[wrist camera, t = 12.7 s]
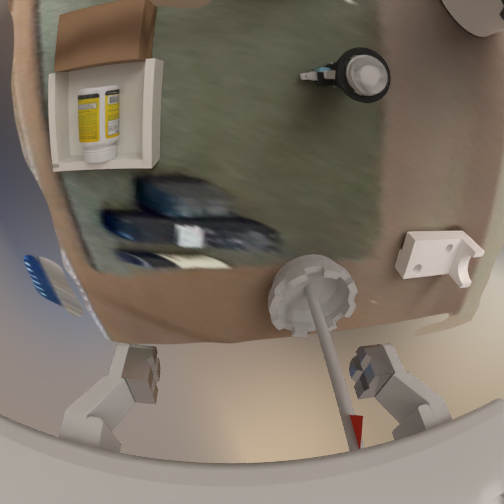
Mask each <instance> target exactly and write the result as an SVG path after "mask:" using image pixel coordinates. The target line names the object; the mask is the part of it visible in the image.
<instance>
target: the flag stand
mask: <svg viewBox="0 0 504 504" xmlns="http://www.w3.org/2000/svg"><path fill="white" fill-rule="evenodd" d="M357 293H358V290H357V287H356V285H355V283H354V281H353V279H352V277H351V276H350V274H349V272H348V271H347V270H346V269H345V268H344V267H342V266H340V265H339V264H337V263H335V262H334V261H333V260H331V259H330V258H328V257H325V256H322V255H315V254H312V255H304V256H300V257H297V258H295V259H292V260H291V261H289V262H287V263H286V264H285V265H284V266H283V267H281V268H280V270H279V271H278V272H277V273H276V275H275V277H274V280H273V284H272V287H271V289H270V291H269V295H268V308H269V312H270V316H271V321H272V323H273V325H274V326H275V327H276V328H277V329H278V330H279V331H280V330H281V329H283V328H284V329H287V330H290V331H291V335H292V336H293V337H300V338H301V337H303V338H304V337H305V338H307V335H308V332H311V331H317V334H318V337H319V341H320V344H321V347H322V351H323V354H324V358H325V361H326V365H327V368H328V371H329V375H330V379H331V382H332V385H333V389H334V392H335V396H336V400H337V404H338V407H339V411H340V415H341V419H342V422H343V426H344V430H345V434H346V438H347V442H348V446H349V450H350V451H353V450H358V449H362V448H365V447H364V444H363V440H362V436H361V435H362V421H363V420H362V419H363V416H357V415H355V412H354V409H353V406H352V402H351V399H350V396H349V392H348V389H347V386H346V383H345V379H344V376H343V373H342V370H341V367H340V364H339V361H338V357H337V354H336V351H335V348H334V345H333V342H332V339H331V336H330V333H329V332H330V331H332V330H334V329H336V328H337V326H336V323H335V322H337V321H338V320H339V319H341V318H342V317H343V316H345V317H348V318H349V317H350V316H351V315H352V313H353V312H354V310H355V308H356V304H355V302H354V299H355V295H356V294H357Z"/></svg>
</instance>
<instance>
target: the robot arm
mask: <svg viewBox="0 0 504 504" xmlns="http://www.w3.org/2000/svg"><path fill="white" fill-rule="evenodd" d="M442 2H443V4H444V5H445V7H446V8H447V10H448V11H449V13H450V14H451V15H452V16H453V18H454V19H455V20H456V21H457V22H458V23H459V24H460V25H461V26H462V27H463V28H464V29H466V30H467V31H468V32H470V33H472V34H474V35H476V36H479V37H487V36H489V35H492V34H494V33H498V32H503V31H504V0H442ZM356 353H357V355H356V356H355V357H354V358H353V359H352V360H351V362H350V367H349V371H350V376H351V378H352V379H353V380H354V381H355V382H356V383H355V386H354V388H355V391H356V394H357V397H358V399H364V398H371V397H375V398H376V400H377V401H378V402H379V403H380V404H381V405H382V406H383V407H384V408H385V409H386V410H387V411H388V412H389V413H390V414H391V415H392V416H393V417H394V418H395V419H396V420H397V421H398V422H399V423H400V425H398V426H397V427H396V428H395V429H394V430H393V432H392V433H393V437H394V440H393V441H390V442H386V443H383V444H379V445H375V446H371V447H367V448H362V449H358V450H353V451H349V452H344V453H338V454H333V455H327V456H321V457H314V458H307V459H299V460H289V461H277V462H263V463H198V462H182V461H172V460H162V459H154V458H147V457H140V456H134V455H128V454H123V453H120V447H121V443H120V442H119V441H118V439H117V438H116V437H115V436H114V435H113V433H112V430H113V429H114V428H115V427H116V426H117V425H118V423H119V422H120V421H121V420H122V419H123V418H124V416H125V415H126V414H127V413H128V412H129V410H130V409H131V408H132V407H133V406H134V405H135V402H139V403H149V404H156V398H157V392H158V389H157V386H156V383H157V382H158V381H159V378H160V361H159V358H157V348H156V347H154V346H145V345H137V344H130V343H122V342H119V343H118V344H117V345H116V349H115V352H114V356H113V359H112V362H111V366H110V369H109V373H108V376H103V377H102V378H101V379H100V380H99V381H98V382H96V383H95V384H94V385H93V386H92V387H91V388H90V389H89V390H87V391H86V392H85V393H84V394H83V395H82V396H81V397H80V398H78V399H77V400H76V401H75V402H74V403H73V404H71V405H70V406H69V407H68V408H67V409H66V412H65V416H64V419H63V423H62V427H61V431H60V435H59V437H56V436H53V435H50V434H47V433H44V432H41V431H38V430H36V429H33V428H31V427H28V426H26V425H23V424H21V423H18V422H15V421H13V420H11V419H9V418H7V417H4V416H2V415H0V504H504V400H503V399H496V400H493V401H491V402H490V403H488V404H486V405H484V406H482V407H480V408H477V409H476V410H473V411H471V412H469V413H467V414H465V415H462V416H460V417H458V418H455V419H453V420H452V418H451V416H450V413H449V411H448V409H447V407H446V404H445V402H444V400H443V398H442V397H441V396H439V395H438V394H437V393H435V392H434V391H433V390H431V389H430V388H429V387H428V386H426V385H425V384H424V383H422V382H421V381H420V380H419V379H417V378H416V377H415V376H413V375H412V374H411V373H409V372H408V371H407V372H405V370H404V368H403V366H402V364H401V361H400V359H399V357H398V355H397V353H396V351H395V349H394V347H393V345H392V344H390V343H389V344H381V345H380V344H377V345H369V346H361V347H359V348H358V349H357V351H356Z"/></svg>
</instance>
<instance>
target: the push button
mask: <svg viewBox="0 0 504 504" xmlns="http://www.w3.org/2000/svg"><path fill="white" fill-rule="evenodd" d="M356 54H357V56H356V57H354V58H351V59H349V58H350V57H352V56H353V55H356ZM327 64H331V68H325V67H320V68H314V69H313V70H314V71H311V72H309V73H301V74H300V77H301V80H308V79H310V81H311V80H312V81H314V80H315V82H317V84H318V85H333V86H330V87H339V88H341V89H342V90H343V91H344V93H345V94H346V95H348V96H349V97H350V98H352V99H354V100H356V101H359V102H363V103H371V102H375V101H378V100H379V99H381V98H382V97H383V96H384V95H385V94H386V93H387V91H388V89H389V86H390V79H391V78H390V71H389V68H388V66H387V64H386V62H385V61H384V59H383V58H382V57H381V56H380V55H379V54H378V53H376V52H375V51H373V50H370V49H367V48H353V49H350V50H348V51H346V52H345V53H344V54H343V55H342V56H341V57H340V58H339V60H338V61H337V62H335V63H327ZM305 75H306V76H307V77H305ZM353 91H355V92H358V93H360V94H362V96H360V95H358V94H356V93H354V92H353Z"/></svg>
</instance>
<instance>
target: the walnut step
mask: <svg viewBox="0 0 504 504" xmlns="http://www.w3.org/2000/svg"><path fill="white" fill-rule="evenodd" d="M156 12H157V7H156V6H155V5H153V4H152V3H151V2H150V1H149V0H122V1H116V2H111V3H105V4H101V5H96V6H92V7H87V8H83V9H79V10H76V11H72V12H68V13H65V14H62V15H60V18H59V25H58V33H57V43H56V54H55V70H54V72H63V71H75V70H81V69H86V68H92V67H98V66H105V65H113V64H121V63H131V62H143V61H146V59H151V56H152V45H153V36H154V27H155V19H156Z"/></svg>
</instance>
